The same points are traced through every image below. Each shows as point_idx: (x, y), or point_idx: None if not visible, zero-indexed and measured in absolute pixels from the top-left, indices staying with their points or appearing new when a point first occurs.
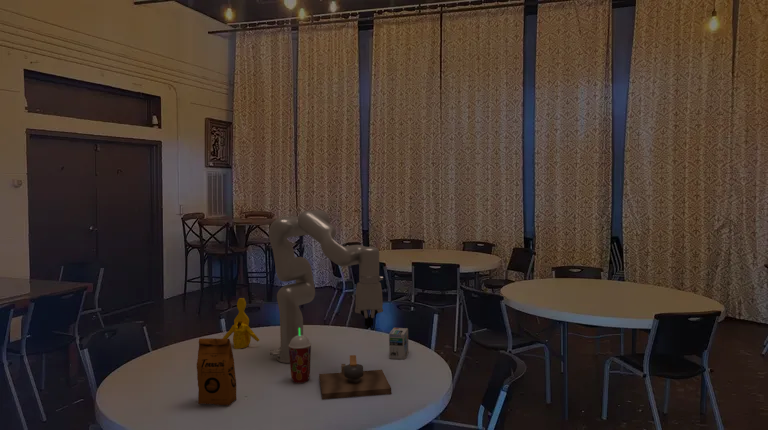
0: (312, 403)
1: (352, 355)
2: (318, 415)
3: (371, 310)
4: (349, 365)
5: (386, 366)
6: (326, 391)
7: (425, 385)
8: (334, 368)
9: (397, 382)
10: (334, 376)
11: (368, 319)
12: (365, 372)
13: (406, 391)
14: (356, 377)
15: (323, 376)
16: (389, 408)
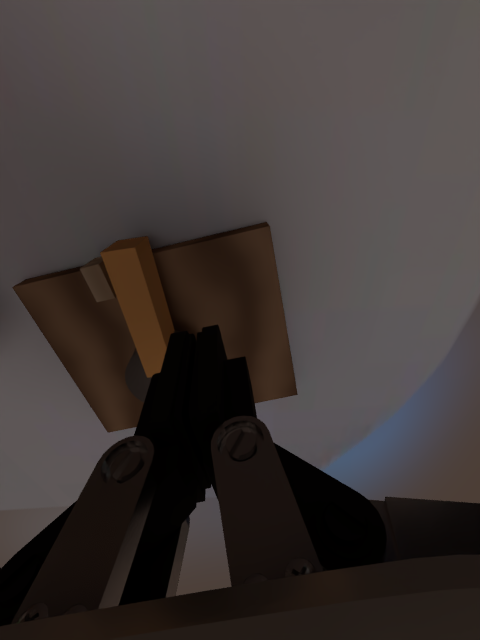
0: (98, 438)
1: (117, 253)
2: None
3: (244, 560)
4: (142, 365)
5: (288, 89)
6: (114, 420)
7: (405, 322)
8: (21, 128)
9: (320, 301)
10: (88, 311)
11: (202, 484)
12: (201, 264)
13: (337, 365)
14: None
15: (44, 312)
16: (285, 448)
